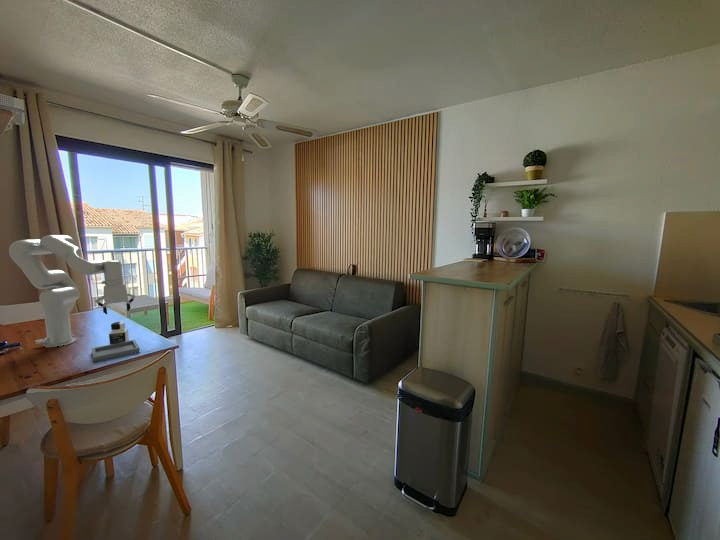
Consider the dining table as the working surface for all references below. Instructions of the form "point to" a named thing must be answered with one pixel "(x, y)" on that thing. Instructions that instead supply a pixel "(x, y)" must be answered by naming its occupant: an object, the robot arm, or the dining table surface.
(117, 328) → the medicine bottle
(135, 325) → the dining table surface
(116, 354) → the grey tray
